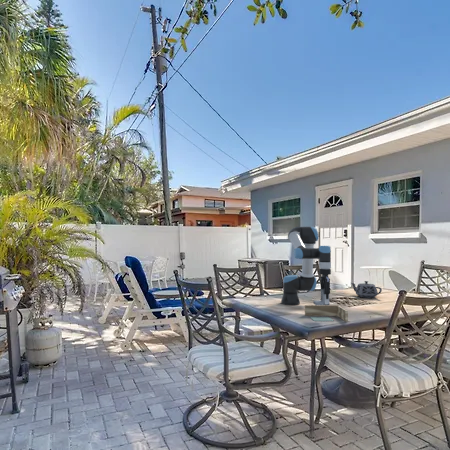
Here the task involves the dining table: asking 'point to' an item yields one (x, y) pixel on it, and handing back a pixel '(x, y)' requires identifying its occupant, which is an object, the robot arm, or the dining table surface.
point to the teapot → (366, 290)
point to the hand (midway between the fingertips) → (325, 302)
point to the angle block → (322, 301)
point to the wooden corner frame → (326, 311)
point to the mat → (321, 319)
